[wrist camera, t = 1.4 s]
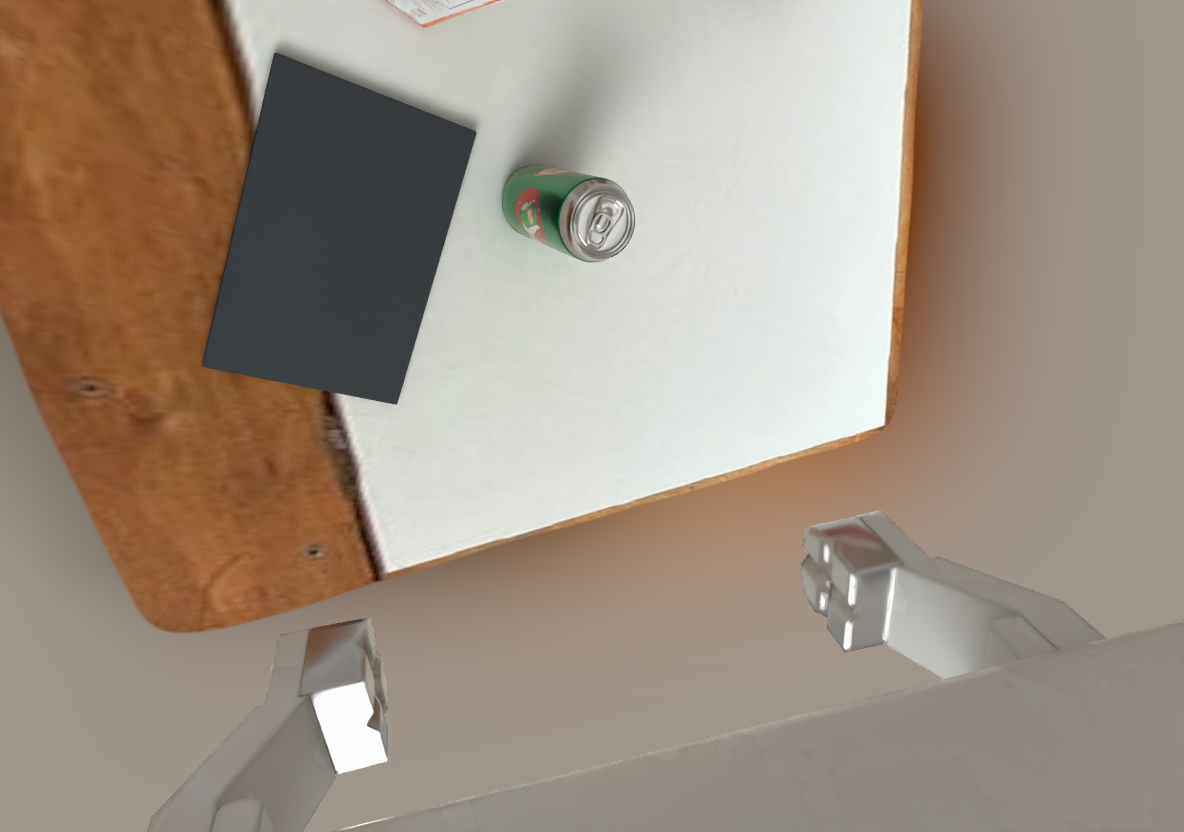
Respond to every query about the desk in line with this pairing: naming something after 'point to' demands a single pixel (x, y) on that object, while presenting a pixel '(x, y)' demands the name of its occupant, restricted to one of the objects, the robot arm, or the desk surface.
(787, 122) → the desk surface
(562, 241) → the soda can
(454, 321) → the desk surface
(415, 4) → the cracker box
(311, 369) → the desk mat
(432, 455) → the desk surface
